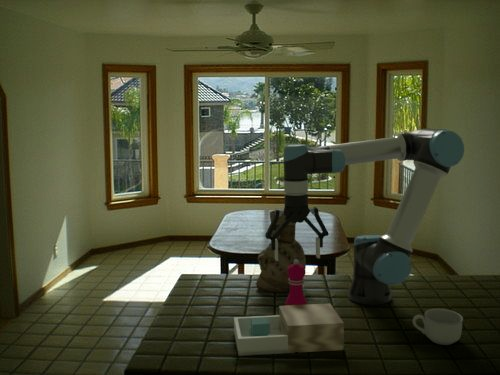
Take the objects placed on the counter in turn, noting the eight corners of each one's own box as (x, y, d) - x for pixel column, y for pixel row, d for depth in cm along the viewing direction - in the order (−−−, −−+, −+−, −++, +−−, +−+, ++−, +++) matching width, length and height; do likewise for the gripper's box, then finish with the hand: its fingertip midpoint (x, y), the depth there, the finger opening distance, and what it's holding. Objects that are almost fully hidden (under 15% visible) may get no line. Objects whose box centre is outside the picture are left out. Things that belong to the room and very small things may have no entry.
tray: (279, 330, 170) (279, 315, 170) (288, 353, 154) (287, 336, 154) (234, 332, 169) (233, 317, 168) (238, 355, 153) (238, 338, 152)
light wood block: (329, 327, 172) (329, 303, 171) (343, 349, 156) (343, 323, 155) (279, 330, 170) (279, 305, 169) (288, 353, 154) (287, 325, 153)
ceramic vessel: (241, 288, 211) (240, 211, 207) (283, 277, 224) (283, 205, 220) (273, 301, 196) (272, 219, 192) (316, 289, 209) (316, 212, 205)
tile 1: (249, 327, 163) (249, 336, 164) (251, 333, 158) (251, 343, 159) (265, 326, 164) (265, 335, 164) (268, 332, 159) (268, 342, 159)
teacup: (461, 336, 165) (462, 310, 164) (462, 351, 155) (463, 323, 154) (413, 330, 169) (413, 305, 168) (411, 344, 159) (412, 318, 158)
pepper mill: (305, 323, 176) (306, 263, 173) (283, 322, 177) (283, 261, 174) (308, 315, 183) (308, 257, 180) (286, 313, 184) (286, 256, 181)
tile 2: (267, 326, 163) (267, 317, 163) (269, 333, 158) (269, 323, 158) (250, 327, 163) (250, 318, 162) (252, 334, 158) (252, 324, 157)
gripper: (331, 190, 179) (332, 253, 182) (255, 193, 176) (257, 257, 180) (337, 193, 172) (338, 259, 175) (258, 197, 169) (260, 263, 172)
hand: (297, 258), depth 177 cm, fingers open, 13 cm apart
